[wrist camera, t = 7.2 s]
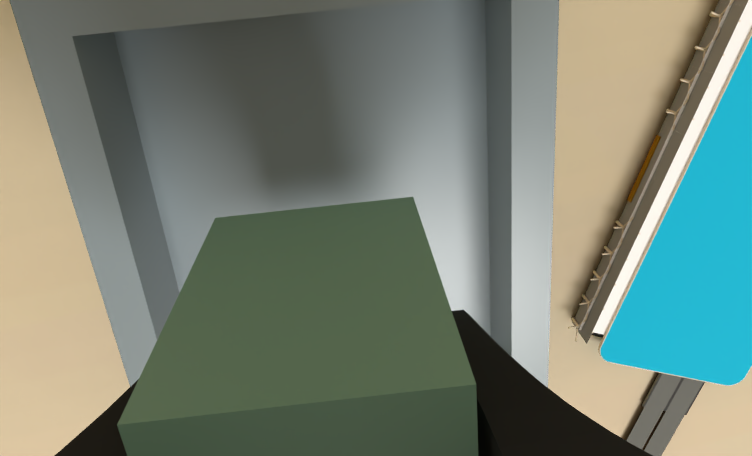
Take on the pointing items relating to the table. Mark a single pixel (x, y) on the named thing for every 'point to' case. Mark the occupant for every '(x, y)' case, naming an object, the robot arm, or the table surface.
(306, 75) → the tray
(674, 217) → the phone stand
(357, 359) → the block
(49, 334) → the table surface
